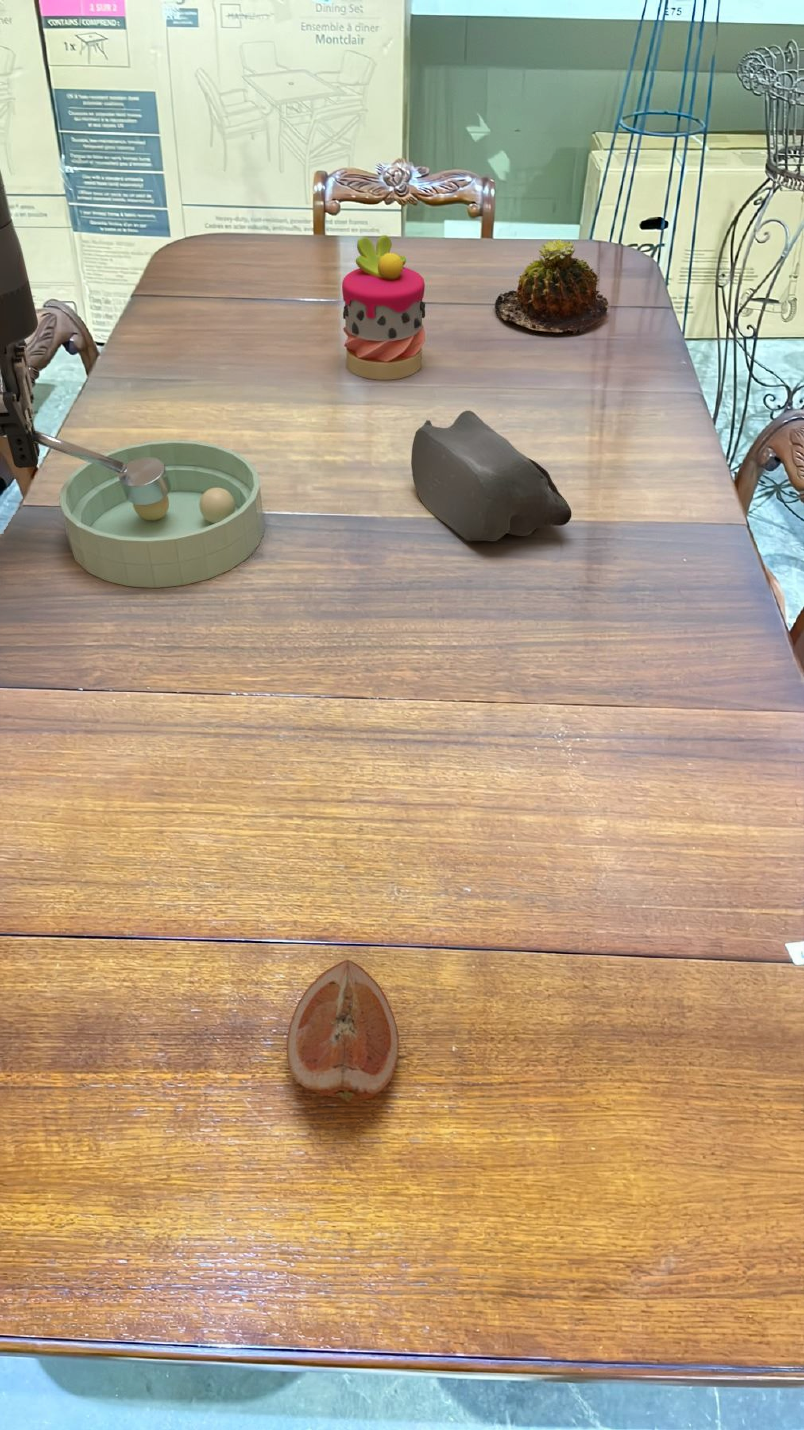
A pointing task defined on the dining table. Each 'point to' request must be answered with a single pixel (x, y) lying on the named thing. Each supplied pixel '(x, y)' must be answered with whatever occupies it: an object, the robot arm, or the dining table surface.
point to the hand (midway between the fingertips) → (28, 461)
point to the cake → (383, 314)
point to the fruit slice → (343, 1035)
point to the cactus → (554, 293)
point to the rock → (482, 482)
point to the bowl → (182, 537)
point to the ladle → (120, 470)
